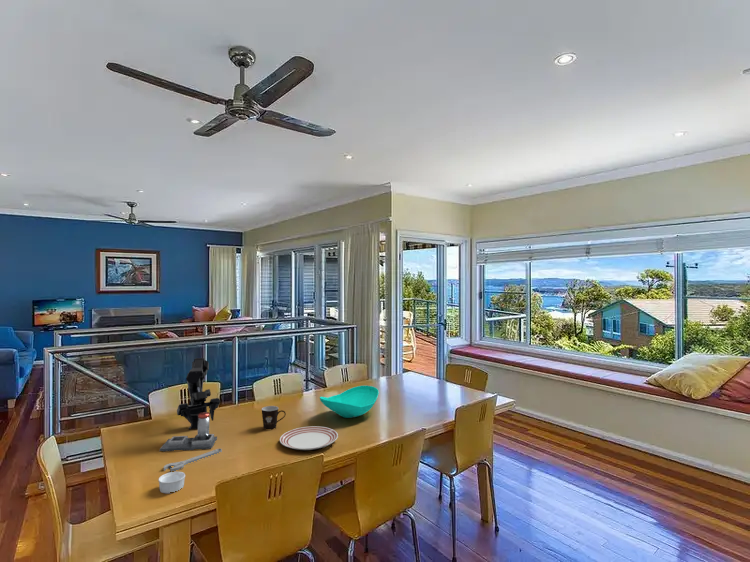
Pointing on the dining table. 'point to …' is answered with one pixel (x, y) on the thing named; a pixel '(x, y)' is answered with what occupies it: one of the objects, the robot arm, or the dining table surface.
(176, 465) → the adjustable wrench
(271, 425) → the coffee mug
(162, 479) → the ramekin
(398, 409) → the dining table surface
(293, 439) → the dinner plate
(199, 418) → the silver and red cylinder
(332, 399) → the table top decor
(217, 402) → the robot arm
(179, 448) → the fitting board
